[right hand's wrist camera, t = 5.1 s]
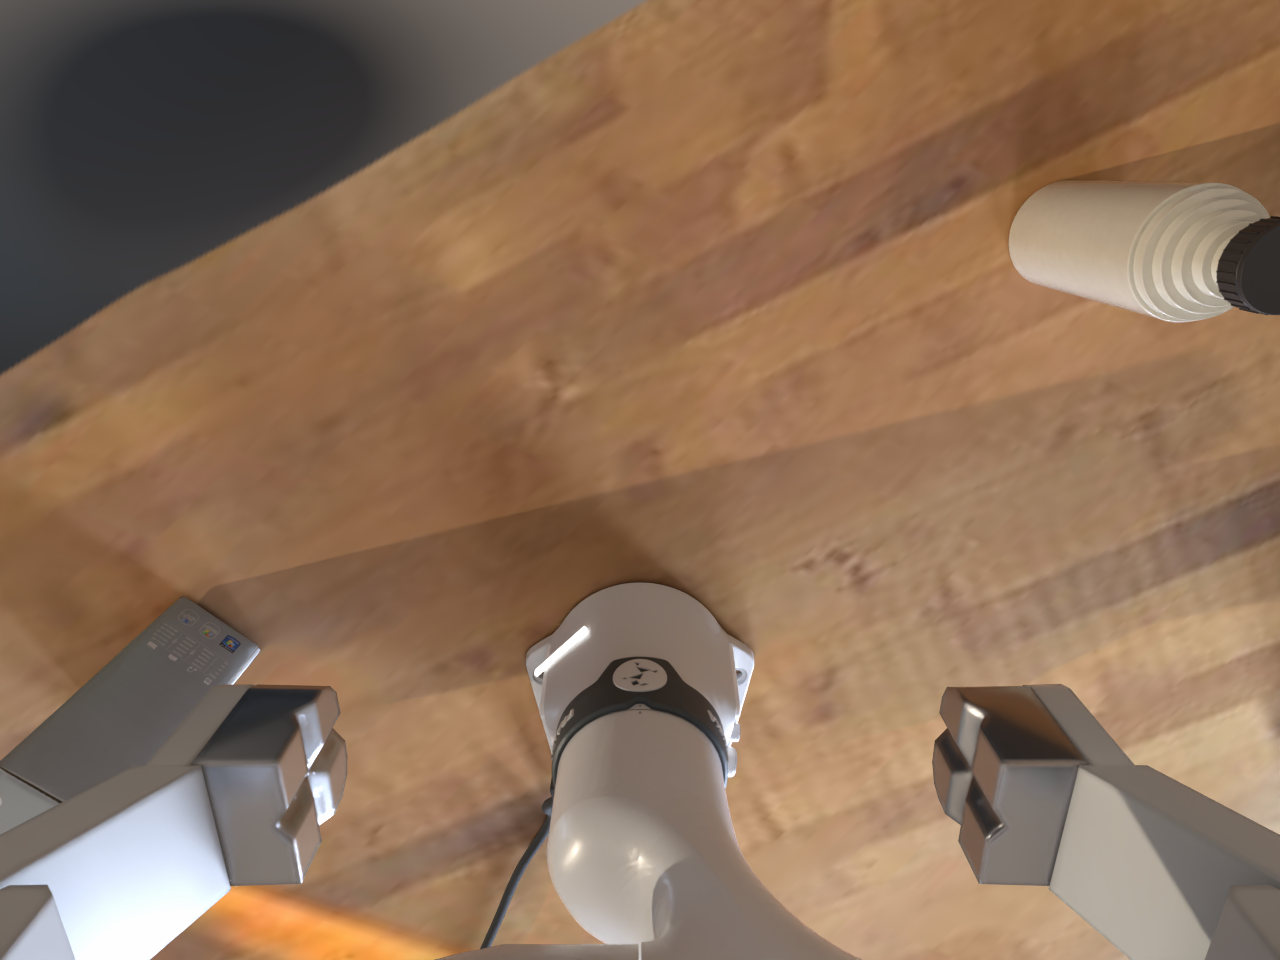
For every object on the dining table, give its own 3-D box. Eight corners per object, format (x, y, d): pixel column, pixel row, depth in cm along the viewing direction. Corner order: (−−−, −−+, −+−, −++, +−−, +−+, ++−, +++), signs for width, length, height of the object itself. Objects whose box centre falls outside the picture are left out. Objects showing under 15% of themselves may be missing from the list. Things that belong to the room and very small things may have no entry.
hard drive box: (182, 590, 64) (-4, 761, 46) (264, 645, 66) (117, 831, 47) (88, 710, 68) (-118, 911, 50) (168, 758, 70) (-3, 970, 52)
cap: (1267, 196, 36) (1296, 197, 34) (1328, 252, 37) (1359, 255, 35) (1194, 276, 37) (1219, 280, 35) (1255, 327, 38) (1282, 334, 36)
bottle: (1060, 157, 53) (1294, 149, 34) (1133, 220, 54) (1397, 246, 35) (986, 247, 55) (1168, 287, 36) (1059, 306, 56) (1271, 374, 37)
